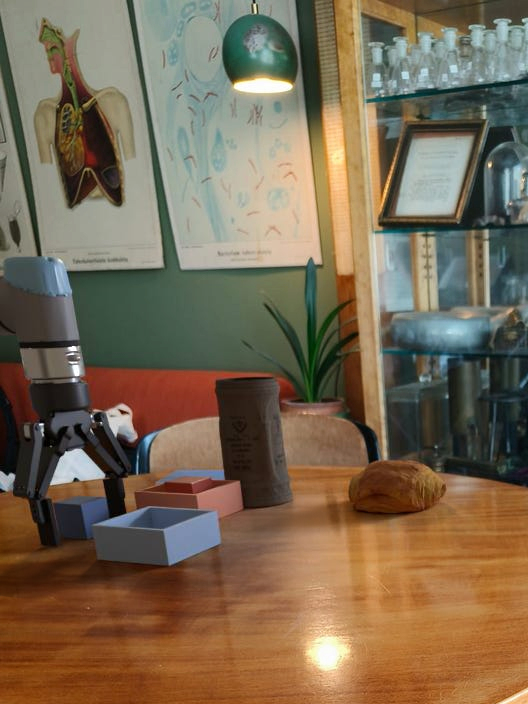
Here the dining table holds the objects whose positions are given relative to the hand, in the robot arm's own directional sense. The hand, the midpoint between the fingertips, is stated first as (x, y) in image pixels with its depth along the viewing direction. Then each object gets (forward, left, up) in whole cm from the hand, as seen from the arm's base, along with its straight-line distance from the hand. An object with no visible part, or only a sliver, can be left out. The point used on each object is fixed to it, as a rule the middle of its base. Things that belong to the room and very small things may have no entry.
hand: (86, 533), depth 127 cm
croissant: (+36, +28, 0) cm, 45 cm away
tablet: (-4, +38, 0) cm, 38 cm away
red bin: (+8, +14, 0) cm, 16 cm away
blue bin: (+17, -5, 0) cm, 18 cm away
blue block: (0, 0, 0) cm, 0 cm away
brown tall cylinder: (+12, +28, 0) cm, 30 cm away
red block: (+8, +14, 0) cm, 16 cm away
